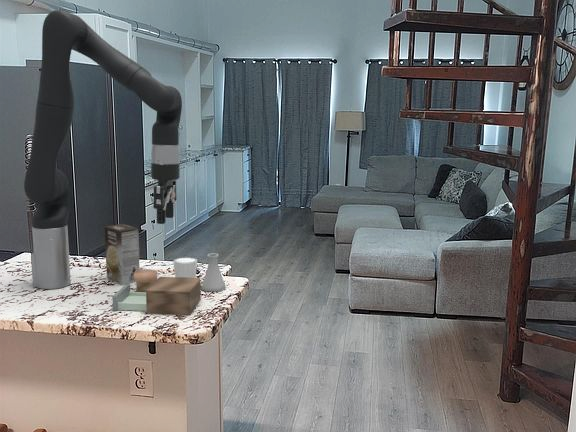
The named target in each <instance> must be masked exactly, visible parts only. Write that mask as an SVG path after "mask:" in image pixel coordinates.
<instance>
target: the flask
mask: <svg viewBox="0 0 576 432" xmlns="http://www.w3.org/2000/svg"><path fill="white" fill-rule="evenodd" d="M207 258H208V264H207V269H206V272H205V276H204V278H203V281H202V284H201V285H200V289H201V291H205V292H210V293H211V292H222V291H223V290H225V289H226V284H225V281H224V278H223V276H222V272H221V269H220V267H219V262H218V261H219V260H218V258H219V253H213V252H212V253H207Z"/></svg>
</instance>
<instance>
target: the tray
mask: <svg viewBox="0 0 576 432" xmlns="http://www.w3.org/2000/svg"><path fill="white" fill-rule="evenodd" d="M112 311H113V312H117V311H140V312H147V308H146V293H145V292H137V291H131V283H129V284H125V285H122V286H121V288H120V289H119V290H118V291H117V292H116V293H114V294H113V295H112Z"/></svg>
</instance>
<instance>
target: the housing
mask: <svg viewBox="0 0 576 432" xmlns="http://www.w3.org/2000/svg"><path fill="white" fill-rule="evenodd" d="M201 291H202V290H201V278H200V277H196V278H186V277H175V276H159V277H157V280H156V281H155V282H154V283H153V284H152V285H151V286H150V287H149V288H148V289H147V290H146V308H147V311H146V314H148V315H149V314H150V315H151V314H153V315H171V316H172V315H174V316H175V315H176V316H177V315H178V316H191V315H192V313H193V311H194V310H195V309H196V307H197V306H198V304H199V303H200V301H201V299H202V298H201V296H202V295H201V294H202V293H201Z"/></svg>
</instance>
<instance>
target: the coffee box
mask: <svg viewBox="0 0 576 432" xmlns="http://www.w3.org/2000/svg"><path fill="white" fill-rule="evenodd" d="M104 243H105V267H106V279H107V280H110V281H111V282H114V283H116V284H119V285H122V286H125V285H126V284H133V283H136V282H135V281H134V272H135V271H138V270H141V269H140V267H141V266H140V232H139V228H138V227H135V226H132V225H129V224H125V223H119V224H115V225H113V224H112V225H108V226H104Z"/></svg>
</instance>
